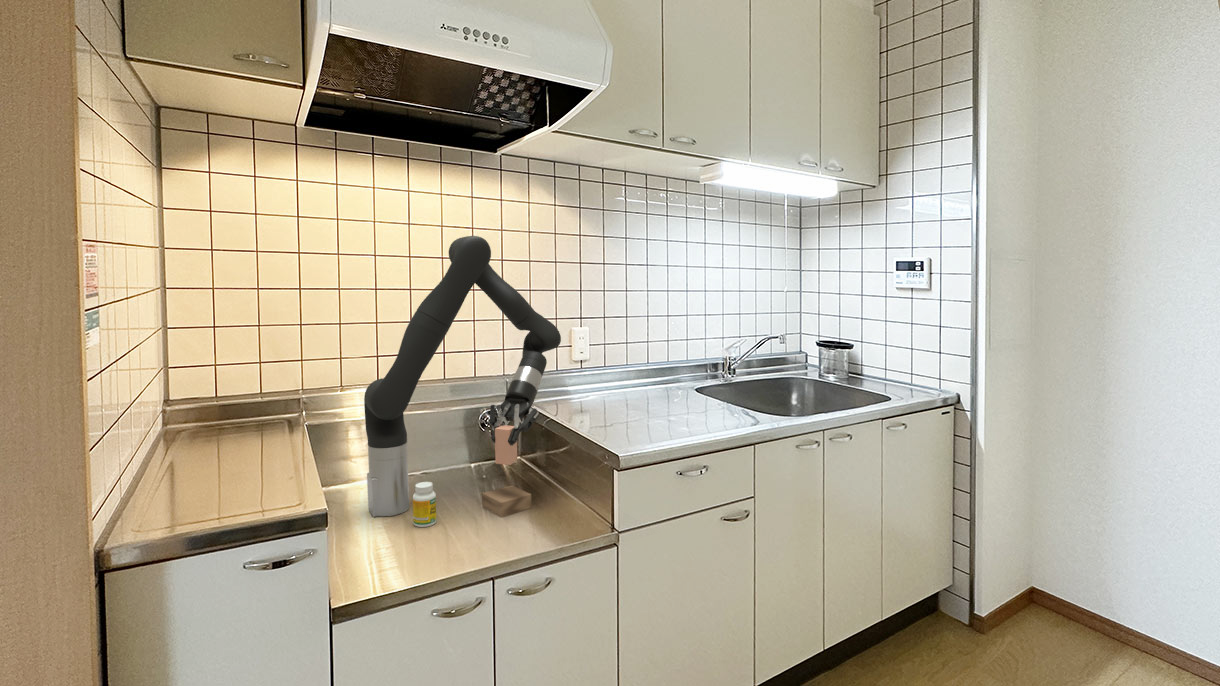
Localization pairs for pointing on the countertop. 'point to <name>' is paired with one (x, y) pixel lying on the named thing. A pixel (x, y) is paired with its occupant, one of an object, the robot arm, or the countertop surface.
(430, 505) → the supplement bottle
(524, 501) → the walnut block
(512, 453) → the salmon pink block
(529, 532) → the countertop surface
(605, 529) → the countertop surface
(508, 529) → the countertop surface
